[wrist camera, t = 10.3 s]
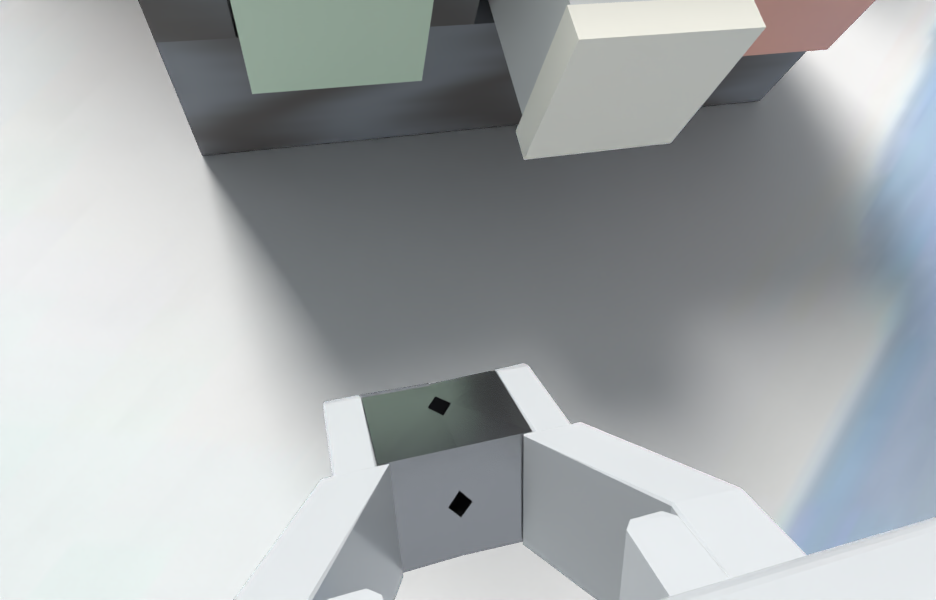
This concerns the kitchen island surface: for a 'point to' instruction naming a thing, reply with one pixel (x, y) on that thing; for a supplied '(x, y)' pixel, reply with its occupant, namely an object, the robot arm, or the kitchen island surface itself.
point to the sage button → (331, 42)
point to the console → (367, 106)
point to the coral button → (804, 24)
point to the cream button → (617, 67)
